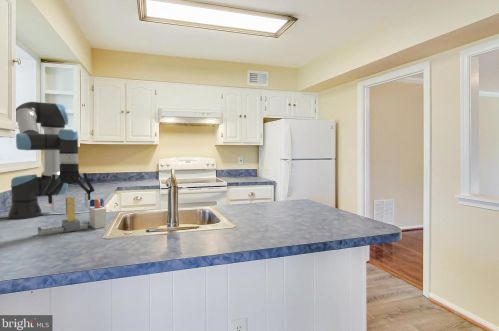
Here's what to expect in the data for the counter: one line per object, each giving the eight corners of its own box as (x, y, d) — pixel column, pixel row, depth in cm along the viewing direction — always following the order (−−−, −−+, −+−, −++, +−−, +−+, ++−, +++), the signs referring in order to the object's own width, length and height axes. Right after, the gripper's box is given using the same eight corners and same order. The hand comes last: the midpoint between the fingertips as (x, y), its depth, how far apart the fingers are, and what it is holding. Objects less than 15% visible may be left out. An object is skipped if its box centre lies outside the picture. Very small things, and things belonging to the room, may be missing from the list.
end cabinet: (89, 224, 147) (89, 206, 147) (100, 223, 151) (100, 205, 150) (95, 228, 140) (94, 209, 140) (106, 226, 143) (106, 208, 143)
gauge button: (94, 215, 145) (93, 199, 145) (99, 215, 147) (99, 199, 147) (95, 216, 143) (95, 200, 143) (101, 215, 145) (100, 199, 145)
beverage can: (98, 223, 151) (97, 199, 151) (87, 222, 153) (86, 199, 152) (106, 220, 158) (106, 197, 157) (96, 219, 159) (95, 197, 159)
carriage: (61, 228, 139) (60, 197, 138) (76, 226, 143) (75, 195, 142) (65, 232, 133) (64, 199, 132) (80, 229, 137) (79, 197, 136)
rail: (37, 234, 131) (37, 227, 130) (85, 227, 143) (85, 220, 143) (38, 235, 128) (38, 228, 128) (87, 228, 141) (87, 221, 141)
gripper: (37, 164, 125) (38, 213, 126) (100, 162, 142) (101, 206, 143) (34, 163, 131) (36, 211, 132) (96, 162, 147) (97, 204, 149)
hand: (70, 208), depth 138 cm, fingers open, 13 cm apart
